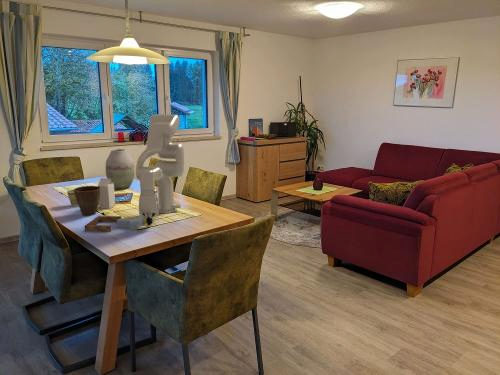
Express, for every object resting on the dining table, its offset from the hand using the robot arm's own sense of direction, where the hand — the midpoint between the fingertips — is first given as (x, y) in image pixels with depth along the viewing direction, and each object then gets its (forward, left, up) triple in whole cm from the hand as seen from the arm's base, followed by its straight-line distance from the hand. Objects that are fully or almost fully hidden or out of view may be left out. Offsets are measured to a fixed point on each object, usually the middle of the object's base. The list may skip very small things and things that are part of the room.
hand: (149, 224), depth 218 cm
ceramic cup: (+58, -41, -2) cm, 71 cm away
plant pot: (+43, -22, -2) cm, 49 cm away
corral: (+26, 0, -1) cm, 26 cm away
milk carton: (+38, -38, -2) cm, 54 cm away
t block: (+11, 0, -1) cm, 11 cm away
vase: (+48, -92, -2) cm, 104 cm away
